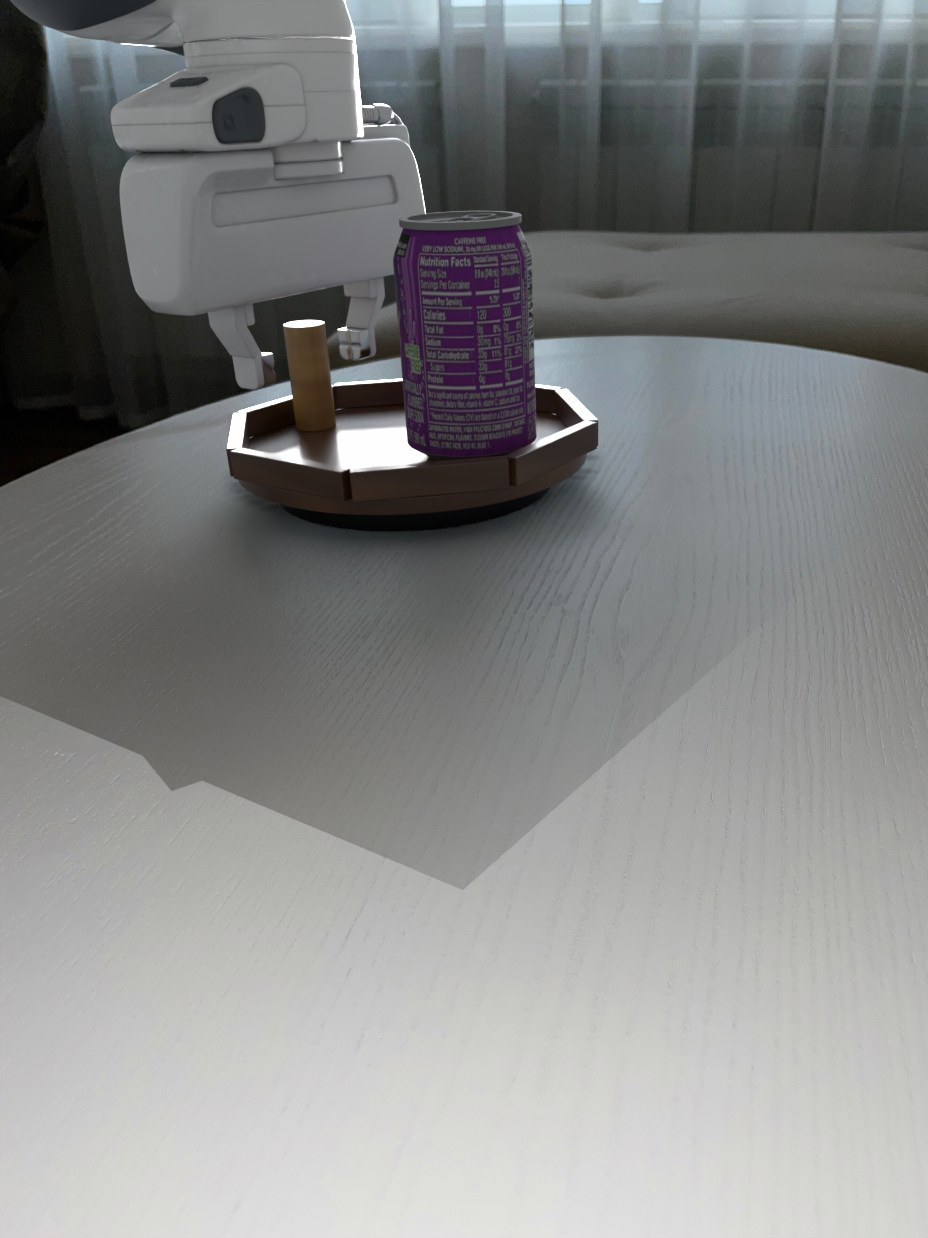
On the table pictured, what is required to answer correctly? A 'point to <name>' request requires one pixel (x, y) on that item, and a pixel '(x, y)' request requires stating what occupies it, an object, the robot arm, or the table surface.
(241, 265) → the robot arm
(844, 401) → the table surface
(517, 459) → the tray
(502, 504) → the turntable base
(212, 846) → the table surface
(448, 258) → the beverage can
